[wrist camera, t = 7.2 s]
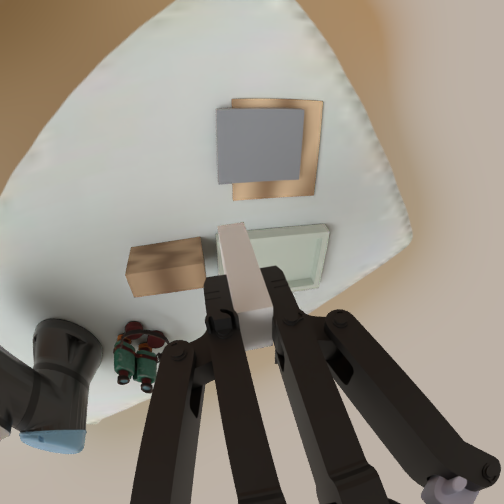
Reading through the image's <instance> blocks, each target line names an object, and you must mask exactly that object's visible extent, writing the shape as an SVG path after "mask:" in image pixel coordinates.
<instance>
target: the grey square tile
mask: <svg viewBox="0 0 504 504" xmlns="http://www.w3.org/2000/svg"><path fill="white" fill-rule="evenodd" d="M303 124H304V109H302V108H280V107H247V108H219V109H216V145H217V174H218V184H232V183H246V182H261V181H280V180H299V175H300V163H301V151H302V138H303Z"/></svg>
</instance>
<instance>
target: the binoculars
mask: <svg viewBox="0 0 504 504" xmlns="http://www.w3.org/2000/svg"><path fill="white" fill-rule="evenodd" d="M125 331H126V333H124V334H121V335H118V338H117V342H116V344H115V345H114V350H113V353H114V369H115V372H116V373H117V374H119V376H118V381H117V383H118V384H120V385H125V384H127V383H129V382H130V379H131V376H132V375H133V380H134V381H137V382H141V383H142V384H141V390H142V391H143V392H145V393H152V392H153V387H152V385H151V384H152V383H154V382H155V380H156V369H157V363H158V362H160V360H161V356H162V353H161V354H160V353H158V354H157V355H156V354H155V353H152V348H159V347H162V346H163V345H164V343H165V342H167V344H169V341H168V339H167V338H166V337H165V336H164V334H163V333H162V332H160V331H156V330H155V331H150V330H143V326H142V324H141V323H139V322H135V321H134V322H130V323H128V324H127V325H126V327H125ZM143 334H146V335H148V337H147V343H142V344H140V345H139V346H138V348H139V351H137V354H136V353H135V349H134V347H133V346H132V345H130V344H131V340H134V339H137V338H139V337H141V336H142V335H143ZM157 356H158V357H157ZM158 359H159V361H158ZM157 361H158V362H157Z"/></svg>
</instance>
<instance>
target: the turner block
mask: <svg viewBox="0 0 504 504" xmlns="http://www.w3.org/2000/svg"><path fill="white" fill-rule="evenodd" d="M125 276H126V278H127V281H128V283H129V286H130V288H131V291H132V293H133V296H134V297H142V296H149V295H156V294H164V293H171V292H178V291H185V290H191V289H198V288H204V287H203V285H204V282H205V280H206V271H205V263H204V256H203V250H202V244H201V238H200V237H195V238H189V239H182V240H175V241H169V242H163V243H156V244H150V245H144V246H137V247H131V250H130V254H129V259H128V264H127V268H126V273H125Z"/></svg>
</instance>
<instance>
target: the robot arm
mask: <svg viewBox="0 0 504 504" xmlns="http://www.w3.org/2000/svg"><path fill="white" fill-rule="evenodd" d="M217 227H218V235H219V242H220V250H221V257H222V264H223V269H224V274H225V275H219V276H213V277H207V278H206V280H205V282H204V285H203V287H204V296H205V304H206V313H207V315H206V318H205V324H206V327H207V330H206V332H205V333H204V335H203V336H201V337H200V338H198V339H197V340H194V341H192V342H190V343H189V342H187V341H183V340H176V341H173V342H171V343H169V344H168V345H167V346H166V347H165V348H164V350H163V352H162V356H161V360H160V364H159V368H158V372H157V376H156V380H155V384H154V388H153V392H152V396H151V401H150V405H149V410H148V413H147V418H146V423H145V427H144V432H143V436H142V441H141V446H140V451H139V457H138V461H137V467H136V472H135V478H134V483H133V489H132V495H131V501H130V504H190V503H191V494H192V484H193V476H194V467H195V459H196V451H197V443H198V435H199V428H200V419H201V413H202V405H203V398H204V391H205V384H207V383H209V382H210V381H213V380H215V383H216V389H217V395H218V401H219V407H220V413H221V419H222V424H223V430H224V435H225V440H226V445H227V450H228V455H229V460H230V465H231V469H232V474H233V479H234V483H235V488H236V492H237V497H238V504H286V501H285V498H284V495H283V493H282V490H281V487H280V484H279V481H278V477H277V474H276V470H275V466H274V462H273V459H272V455H271V451H270V448H269V444H268V440H267V436H266V433H265V429H264V425H263V421H262V417H261V413H260V409H259V405H258V401H257V398H256V393H255V389H254V385H253V381H252V378H251V373H250V369H249V365H248V361H247V357H246V353H245V351H247V350H253V349H258V348H263V347H268V346H272V345H273V342H274V345H275V364H278V365H279V369H280V372H281V375H282V378H283V381H284V385H285V388H286V391H287V395H288V398H289V401H290V404H291V407H292V410H293V414H294V417H295V420H296V423H297V427H298V430H299V433H300V436H301V439H302V443H303V446H304V449H305V452H306V455H307V458H308V461H309V464H310V468H311V471H312V474H313V477H314V480H315V484H316V491H317V497H318V500H319V504H400V503H398V502H396V501H394V500H392V499H389V498H387V496H386V493H385V490H384V488H383V485H382V483H381V480H380V477H379V475H378V473H377V471H376V470H375V469H374V467H372V466H371V465H370V464H368V462H367V461H366V458H365V456H364V453H363V451H362V448H361V446H360V443H359V441H358V438H357V436H356V433H355V431H354V428H353V426H352V423H351V421H350V418H349V416H348V413H347V411H346V408H345V406H344V403H343V401H342V398H341V396H340V394H339V391H338V389H337V386H336V384H335V382H334V380H335V381H336V382H337V384H338V385H339V386H340V388H341V389H342V390H343V391H344V393H345V394H346V395H347V397H348V398H349V399H350V401H351V402H352V403H353V405H354V406H355V407H356V409H357V410H358V411H359V412H360V414H361V415H362V416H363V418H364V419H365V420H366V422H367V423H368V424H369V425H370V427H371V428H372V429H373V431H374V432H375V433H376V435H377V436H378V437H379V438H380V440H381V441H382V442H383V444H384V445H385V446H386V447H387V449H388V450H389V451H390V453H391V454H392V455H393V456H394V458H395V459H396V460H397V461H398V463H399V464H400V465H401V467H402V468H403V469H404V471H405V472H406V473H407V474H408V475H409V476H410V477H411V478H412V479H413V480H414V481H416V482H417V483H418V484H419V485H421V486H423V487H424V489H423V491H422V493H421V498H422V500H424V502H425V503H426V504H473V503H474V501H475V499H476V497H477V495H478V493H479V491H480V490H482V489H484V488H487V487H489V486H492V485H493V484H494V483H495V482H496V481H497V479H498V478H499V475H500V471H501V467H500V463H499V460H498V459H496V458H495V457H494V456H492V455H490V454H487V453H486V452H484V451H482V450H480V449H478V448H476V447H474V446H472V445H470V444H468V443H466V442H464V441H463V439H462V438H461V437H460V436H459V435H458V433H457V432H456V431H455V430H454V429H453V427H452V426H451V425H450V424H449V423H448V421H447V420H446V419H445V418H444V417H443V416H442V415H441V413H440V412H439V411H438V410H437V409H436V407H435V406H434V405H433V404H432V403H431V402H430V400H429V399H428V398H427V397H426V396H425V395H424V394H423V392H422V391H421V390H420V389H419V388H418V387H417V386H416V384H415V383H414V382H413V381H412V380H411V379H410V378H409V376H408V375H407V374H406V373H405V372H404V371H403V370H402V369H401V367H400V366H399V365H398V364H397V363H396V362H395V361H394V360H393V359H392V357H391V356H390V355H389V354H388V353H387V352H386V351H385V350H384V349H383V348H382V346H381V345H380V344H379V343H378V342H377V341H376V340H375V339H374V338H373V337H372V336H371V334H370V333H369V332H368V331H367V330H366V329H365V328H364V327H363V326H362V325H361V324H360V322H359V321H358V320H357V319H356V318H355V317H354V316H353V315H352V314H350V313H349V312H348V311H345V310H338V309H337V310H333V311H331V312H330V313H328V315H327V316H326V317H315V316H310V315H307V314H305V313H304V312H303V311H302V310H300V309H299V307H298V305H297V303H296V300H295V298H294V296H293V293H292V291H291V289H290V287H289V284H288V282H287V280H286V277H285V275H284V273H283V271H282V270H281V269H280V268H278V267H277V266H276V265H275V266H269V267H263V268H259V265H258V262H257V259H256V256H255V253H254V250H253V248H252V245H251V242H250V239H249V236H248V233H247V230H246V228H245V225H244V222H241V223H234V224H227V225H221V226H217ZM33 357H34V366H33V369H32V368H31V367H29V366H28V365H26V364H25V363H23V362H22V361H21V360H19V359H18V358H16V357H15V356H13V355H12V354H11V353H9V352H8V351H7V350H5V349H4V348H3V347H1V346H0V441H1V440H2V439H4V438H6V437H8V436H10V433H11V427H13V428H15V429H17V430H19V431H20V434H19V436H20V439H21V441H22V442H23V443H26V444H27V445H29V446H32V447H34V448H38V449H41V450H45V451H49V452H55V453H63V454H76V453H79V452H81V451H82V450H83V448H84V443H85V435H86V417H87V404H88V393H89V385H90V382H91V380H92V379H93V377H94V375H95V373H96V371H97V369H98V367H99V366H100V363H101V359H102V347H101V345H100V343H99V341H98V340H97V339H96V338H95V337H94V336H93V335H92V334H91V333H90V332H88V331H87V330H85V329H84V328H82V327H80V326H78V325H76V324H74V323H71V322H68V321H64V320H58V319H49V320H44V321H42V322H40V323H39V324H38V325H37V327H36V329H35V332H34V335H33ZM333 378H334V379H333Z"/></svg>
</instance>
